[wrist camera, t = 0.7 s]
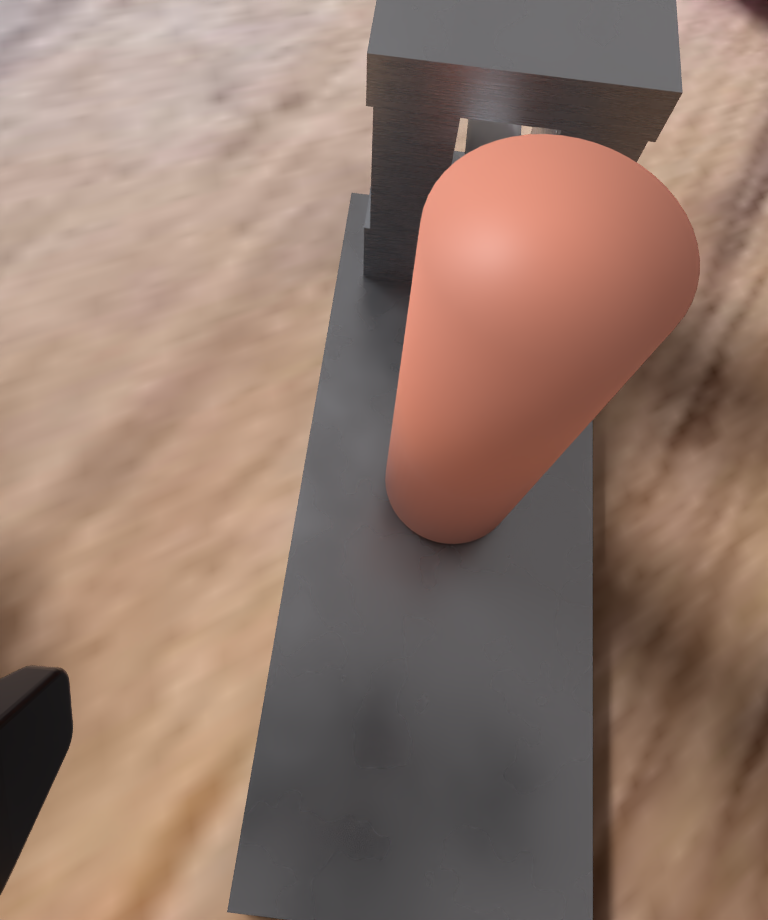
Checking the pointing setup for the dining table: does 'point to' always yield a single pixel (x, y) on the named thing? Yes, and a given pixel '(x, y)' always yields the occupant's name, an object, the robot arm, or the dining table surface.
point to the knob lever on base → (526, 318)
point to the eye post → (433, 563)
